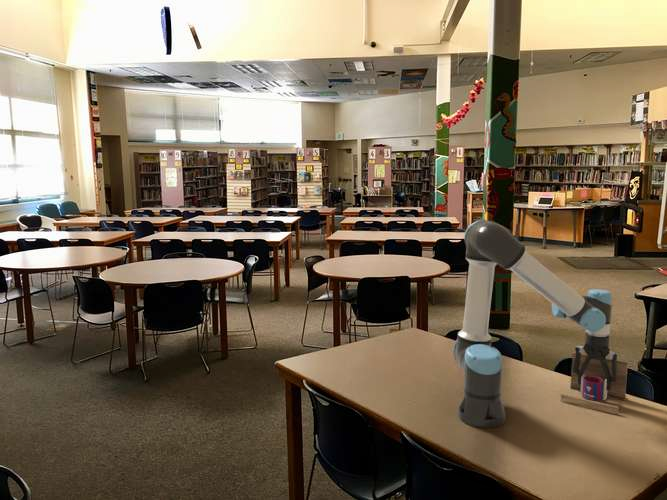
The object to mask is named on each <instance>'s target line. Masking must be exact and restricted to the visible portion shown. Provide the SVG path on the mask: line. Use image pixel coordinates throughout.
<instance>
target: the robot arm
mask: <svg viewBox="0 0 667 500" xmlns="http://www.w3.org/2000/svg"><path fill="white" fill-rule="evenodd" d="M463 238H464V244H465V247H466V250H465V260H466V261H467V262H468V264H469V265H468V275H467V283H466V293H465V303H464V304H465V305H464V312H463V313H464V314H463V323H462V329H460V331H458V332H457V338H456V341H454V344H453V349H452V351H453V352H452V353H453V358H454V360H455V362H456V364H457V365H458V366H459V369H461V370H462V372H463V375H464V381H463V382H464V386H463V387H464V389H463V396H462V398H461V400H460V403H459V406H458V409H457V410H458V415H457V416H458V417H459V419H460V421H462V422H464V424H465V423H466V424H468V425H470V426H472V427H478V428H487V429H488V428H489V429H490V428H497V427H499V426H502V425H504V424H505V422H506V411H505V407H504V404H503V401H502V397H501V396H502V395H501V391H502V390H501V389H502V370H503V360H502V358H503V357H502V354H501V352H500V351H499V350H498V349H497V348H496V347H494V346H492V336H491V335H490V334H489V326H490V325H489V321H490V313H491V303H492V294H493V287H494V278H495V271H496V270H495V268H496V266H497V265H499V266H500V267H501V268H502V269H504V270H506V271H507V270H509V271H511V272H513V273H514V274H515V275H516V276H518V278H520V279H521V280H522V281H524V282H525V283H526V284H527V285H529V286H530V287H531V288H533V289H534V290H535V291H536V292H537V293H539V294H540V295H541V296H543V297H544V298H545V299H546V300H547V301H549V302H550V303H551V312H552V314H553V316H554V318H559V319H568V320H570V321H571V322H573V323H575V324H576V325H578V326H579V327H581V328H582V329H584V330H585V332H586V333H585V338H584V341H585V342H584V345H583V346H580V345H576V347H575V348H574V350H575V351H574V352H576V357H575V363H574V368H573V373H576V374H577V375H578V384H581V390H579V391H580V395H582V391H583V378H584V377H585V375H583V373H584V371H585V369H586V367H587V365H588V363H589V361H590V359H596V360H600V363H601V364H602V367H603V371H604V374H605V377H606V380H605V381H604V393H603V400H605V401H606V399H608V397H607V390H609V391H610V389H611V382H612V381H614V382H615V381H616V380H617V379H618V375H617V360H618V357H619V352H617V351H615V352H614V351H612V350H611V349H610V334H611V318H612V316H611V315H612V306H613V296H612V295H613V294H612V293H611V292H610V291H608V290H605V289H601V288H600V289H598V288H597V289H596V288H595V289H590V290H589V289H588V292H587V295H584V296H582V295H580V294H579V293H578V292H576V290H574V289H573V288H572V287H570V286H569V285H568V284H567V283H565V282H564V281H563V280H562V279H561V278H559V277H558V275H557V276H556V275H555V274H554V273H553V272H552V271H551V270H549V269H548V268H547V267H546V266H544V265H543V264H542V263H541V262H540V261H538V260H537V259H536V258H534V257H533V256H532V255H531V254H530V253H528V252H527V247H526V246H525V245H524V244H523V243H522V242H520V241H519V240H518V238H516V237H515V236H514V235H513V234H512V233H511V232H510V230H508V229H507V228H506V227H505V226H503V225H501V224H499V223H495V222H493V221H490V220H481V219H480V220H477V221H474V222H473V223H471V224H470V225H468V226H467V228H466V230H465V231H464V237H463ZM583 351H584V352H585V354H587V357H586V359H585V362H584V363H583V365H582V367H581V369H580V370H578V368H579V362H580V357H581V353H583ZM608 355H609V358H611V359H612V377H611V374H610V371H609V368H608V365H607V362H606V358H607V356H608ZM605 357H606V358H605Z"/></svg>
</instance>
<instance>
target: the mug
mask: <svg viewBox="0 0 667 500" xmlns="http://www.w3.org/2000/svg"><path fill="white" fill-rule="evenodd" d="M603 393H604V380H603V379H602V378H601V377H599V376H598V377H595V376H585V377H584V378H583V391H582V394H581V395H582V397H581V398H583V399H587V400H591V401H596V402H602V401H603V400H604V399H603Z"/></svg>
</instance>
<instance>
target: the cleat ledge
mask: <svg viewBox="0 0 667 500" xmlns="http://www.w3.org/2000/svg"><path fill="white" fill-rule="evenodd" d="M560 402H562V403H566V404H571V405H575V406H578V407H579V406H580V407H583V408H587V409H592V410H595V411H600V412H605V413H607V412H608V414H612V415H616V414H617V416H618V415H619V406H616V405H612V404H609V403H608V404H607V403H604V402H601V401H599V402H596V401H591V400H587V399H584V398H583V397H577V396H574V395H568V394H564V393H561V395H560Z"/></svg>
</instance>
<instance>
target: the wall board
mask: <svg viewBox="0 0 667 500" xmlns="http://www.w3.org/2000/svg"><path fill="white" fill-rule="evenodd" d="M571 356H572V357H571V372H570V377H571V378H570V389H572V390H577V391H581V384H578V375H577V374H576V373H573V368H574V363H575V357H576V351H573V352H572V355H571ZM586 357H587V354H586V353H583V352H581V357H580V362H579V368H578V370H580V369H581V367H582V365H583V363H584V362H585V359H586ZM605 358H606V362H607V365H608V368H609V371H610V374H611V377H612V358H611V357H607V356H606V357H605ZM628 363H629V361H626V360H621V359H617V375H618V379H617V380H616V381H615V382H614V381H612V382H611V389H610V391H609V390H607V398H613V399H617V400H622V401H625V400H626V398H627V395H626V394H627V393H626V392H627V381H628V380H627V377H628V368H629V367H628V365H629V364H628ZM583 375H585V376H595V377H598V376H599V377H601V378H602V379H603V380H604V381H605V380H606V377H605V374H604V371H603V367H602V364H601V363H600V360H596V359H590V361H589V363H588V365H587V367H586V369H585V371H584V373H583Z"/></svg>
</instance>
